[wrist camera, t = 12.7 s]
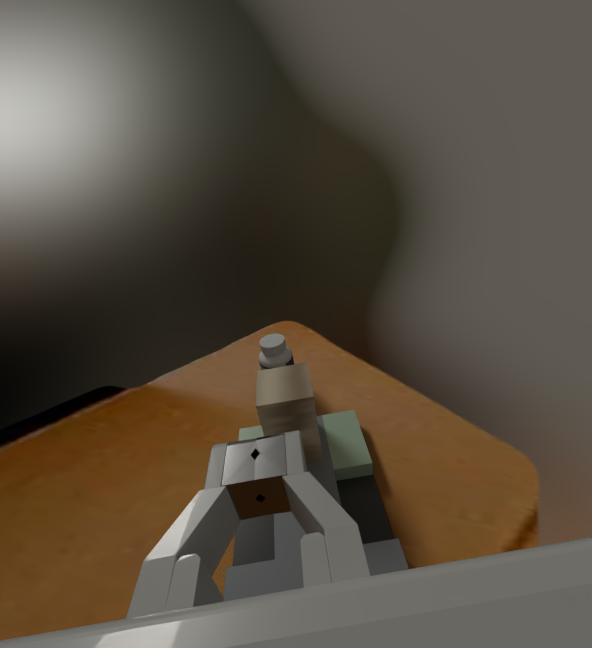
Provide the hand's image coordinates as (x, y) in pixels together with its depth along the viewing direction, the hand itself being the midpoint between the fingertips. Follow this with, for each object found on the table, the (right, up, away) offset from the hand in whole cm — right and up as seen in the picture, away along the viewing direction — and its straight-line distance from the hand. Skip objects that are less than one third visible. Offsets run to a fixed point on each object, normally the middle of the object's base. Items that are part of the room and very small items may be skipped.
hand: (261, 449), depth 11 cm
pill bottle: (-1, -7, +42) cm, 43 cm away
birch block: (+1, -11, +29) cm, 31 cm away
